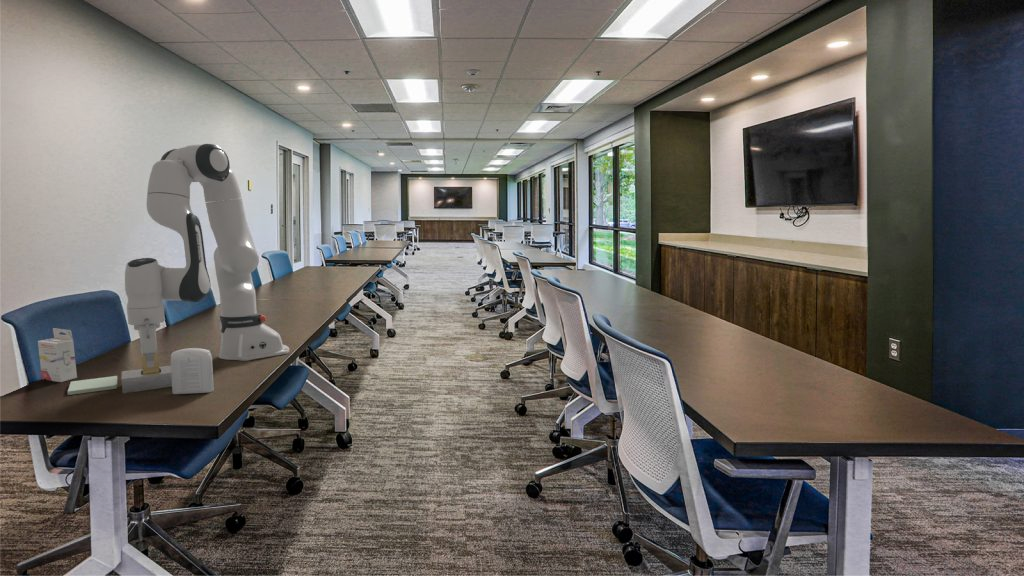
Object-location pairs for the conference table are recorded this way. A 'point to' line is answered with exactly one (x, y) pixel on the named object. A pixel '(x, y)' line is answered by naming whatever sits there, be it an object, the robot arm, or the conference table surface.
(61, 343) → the ink cartridge box
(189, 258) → the robot arm
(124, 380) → the grey block with holes
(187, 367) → the photo printer
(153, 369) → the brass peg
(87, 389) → the sage mat
